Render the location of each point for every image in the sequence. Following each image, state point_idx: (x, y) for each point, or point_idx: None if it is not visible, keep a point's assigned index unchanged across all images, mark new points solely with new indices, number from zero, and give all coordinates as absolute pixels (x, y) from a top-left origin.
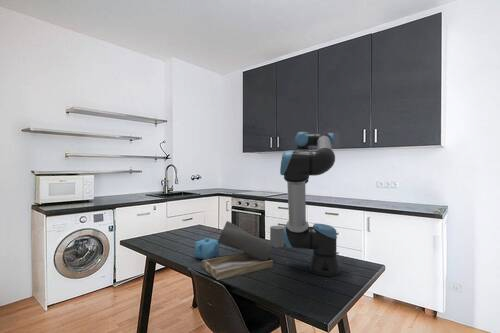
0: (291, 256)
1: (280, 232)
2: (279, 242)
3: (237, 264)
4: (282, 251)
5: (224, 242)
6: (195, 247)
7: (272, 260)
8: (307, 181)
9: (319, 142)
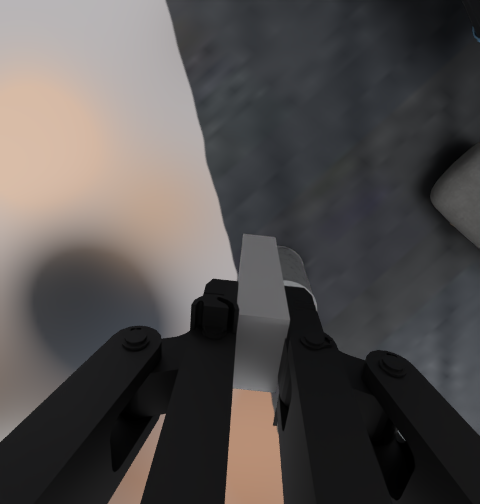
0: (341, 138)
1: (290, 273)
2: (290, 256)
3: None
4: (319, 205)
5: None
6: None
7: None
8: (137, 337)
9: None
